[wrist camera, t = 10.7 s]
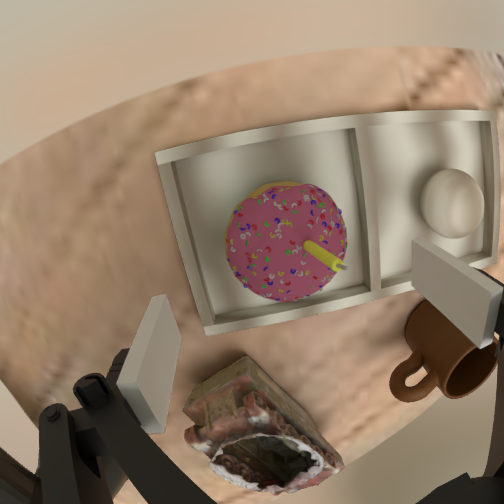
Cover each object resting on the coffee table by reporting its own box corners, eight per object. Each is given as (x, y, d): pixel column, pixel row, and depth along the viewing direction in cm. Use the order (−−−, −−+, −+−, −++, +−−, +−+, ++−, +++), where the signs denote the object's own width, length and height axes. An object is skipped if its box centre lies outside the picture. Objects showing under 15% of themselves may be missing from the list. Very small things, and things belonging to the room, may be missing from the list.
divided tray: (207, 321, 30) (206, 336, 28) (161, 150, 24) (154, 152, 22) (483, 254, 29) (496, 263, 27) (479, 110, 24) (495, 110, 21)
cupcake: (289, 152, 24) (335, 165, 13) (347, 233, 27) (416, 299, 15) (204, 219, 26) (181, 284, 14) (268, 292, 28) (288, 387, 17)
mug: (371, 372, 34) (401, 430, 25) (362, 323, 31) (399, 383, 22) (455, 332, 33) (496, 377, 24) (456, 281, 30) (507, 324, 21)
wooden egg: (409, 232, 27) (445, 255, 21) (405, 168, 25) (444, 178, 19) (457, 222, 27) (495, 241, 21) (455, 162, 25) (497, 171, 19)
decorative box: (292, 319, 30) (313, 388, 21) (356, 421, 37) (377, 477, 28) (181, 372, 32) (169, 443, 23) (269, 457, 39) (276, 513, 29)
